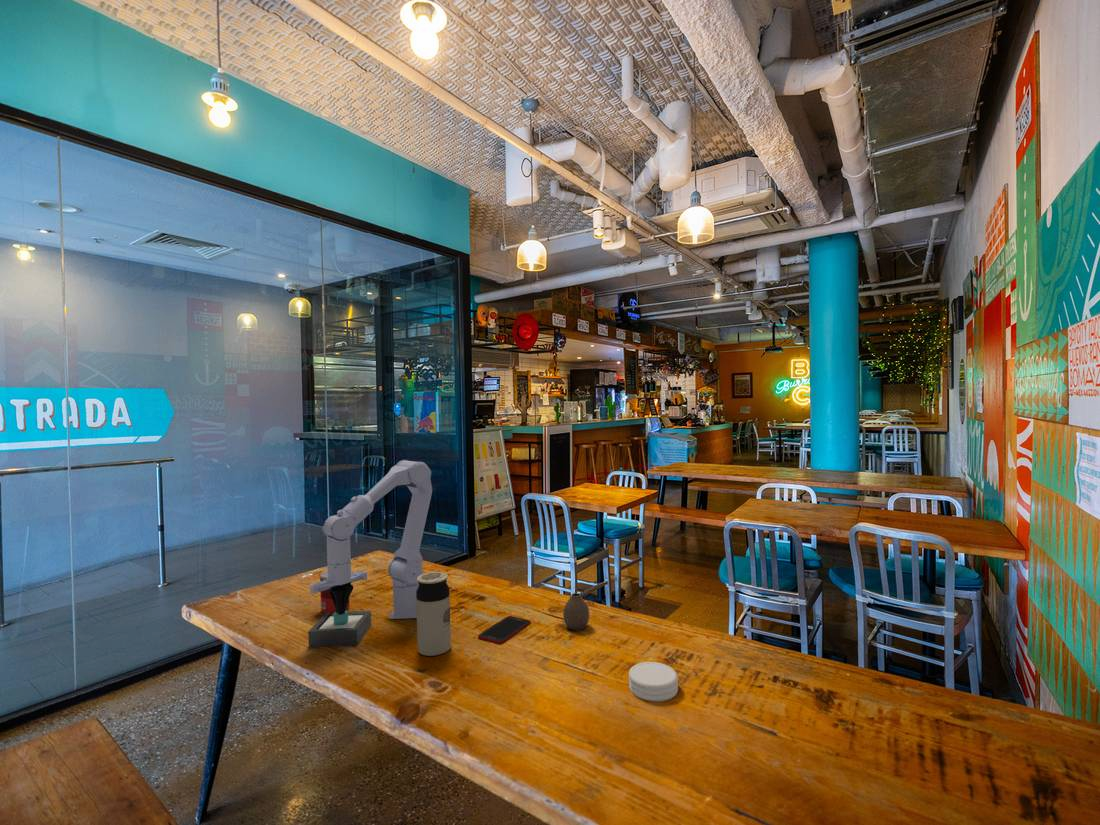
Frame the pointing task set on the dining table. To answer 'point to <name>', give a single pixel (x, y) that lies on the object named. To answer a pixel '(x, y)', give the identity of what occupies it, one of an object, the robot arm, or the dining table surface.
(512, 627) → the cell phone
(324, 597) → the canned food
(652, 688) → the coaster
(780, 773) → the dining table surface
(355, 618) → the plunger
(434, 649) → the travel mug
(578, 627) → the vase
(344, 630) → the press housing
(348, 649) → the dining table surface
